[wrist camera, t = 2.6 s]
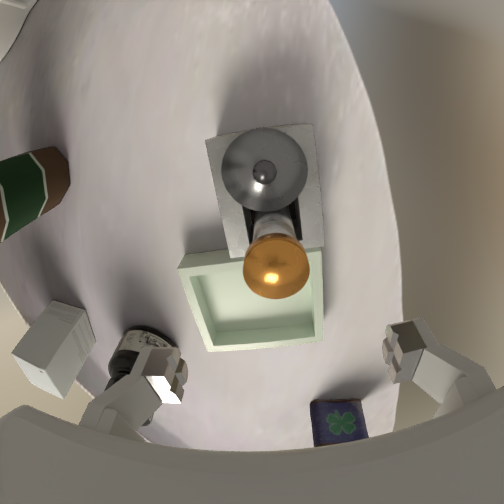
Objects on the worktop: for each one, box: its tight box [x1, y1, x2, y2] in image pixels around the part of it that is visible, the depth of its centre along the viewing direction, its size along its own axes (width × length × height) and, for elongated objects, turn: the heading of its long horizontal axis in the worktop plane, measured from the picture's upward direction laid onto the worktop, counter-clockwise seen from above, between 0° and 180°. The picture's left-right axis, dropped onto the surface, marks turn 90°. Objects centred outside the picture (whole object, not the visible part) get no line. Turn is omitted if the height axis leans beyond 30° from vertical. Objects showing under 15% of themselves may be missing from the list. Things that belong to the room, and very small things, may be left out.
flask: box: [310, 399, 369, 447], centre depth 37 cm, size 10×3×12 cm, turn 83°
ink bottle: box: [104, 326, 176, 426], centre depth 31 cm, size 10×9×12 cm
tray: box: [177, 247, 324, 352], centre depth 30 cm, size 12×14×3 cm
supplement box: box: [12, 300, 96, 399], centre depth 30 cm, size 7×7×13 cm
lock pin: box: [243, 205, 310, 299], centre depth 21 cm, size 4×4×12 cm
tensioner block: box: [205, 123, 325, 258], centre depth 22 cm, size 10×8×7 cm
